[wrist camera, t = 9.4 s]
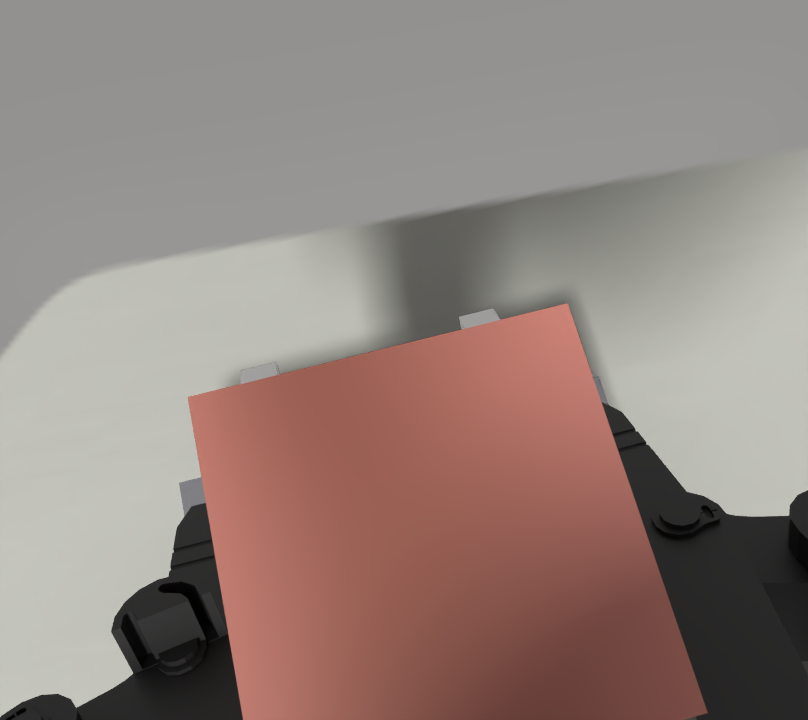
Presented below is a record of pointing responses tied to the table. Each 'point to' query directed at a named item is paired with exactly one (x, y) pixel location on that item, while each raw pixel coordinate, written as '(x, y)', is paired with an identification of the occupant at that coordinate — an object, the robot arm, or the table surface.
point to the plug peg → (437, 538)
